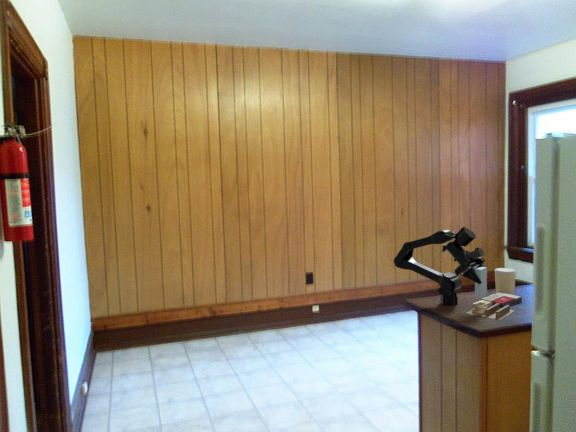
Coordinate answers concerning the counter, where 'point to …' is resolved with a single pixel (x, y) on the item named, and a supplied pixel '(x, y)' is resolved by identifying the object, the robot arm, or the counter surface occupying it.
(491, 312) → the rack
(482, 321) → the counter surface
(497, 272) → the coffee cup
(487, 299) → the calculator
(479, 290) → the light blue brick
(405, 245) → the robot arm
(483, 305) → the offcut stack
